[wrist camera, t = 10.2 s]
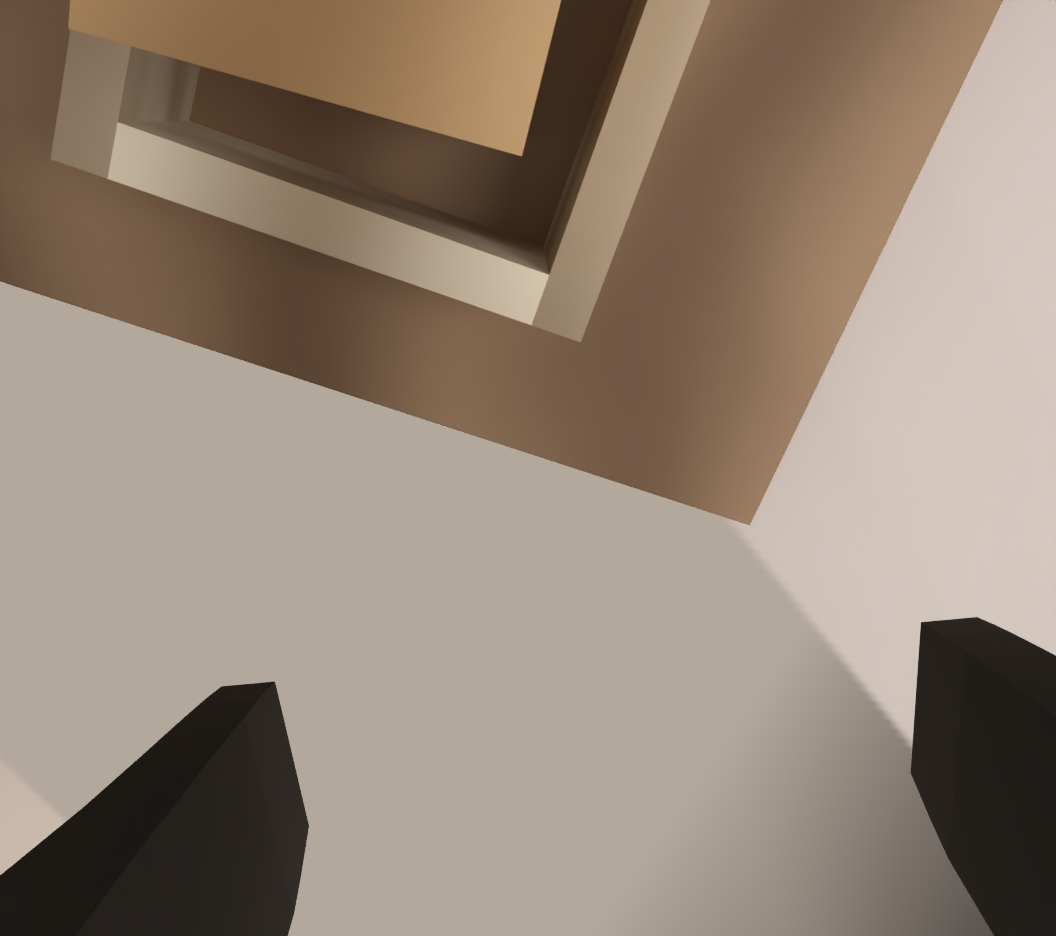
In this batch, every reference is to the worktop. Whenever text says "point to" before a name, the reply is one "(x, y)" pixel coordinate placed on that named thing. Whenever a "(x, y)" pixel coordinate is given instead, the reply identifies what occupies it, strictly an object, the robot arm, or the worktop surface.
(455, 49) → the oak peg
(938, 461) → the worktop surface
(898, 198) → the walnut board
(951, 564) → the worktop surface
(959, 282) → the worktop surface
